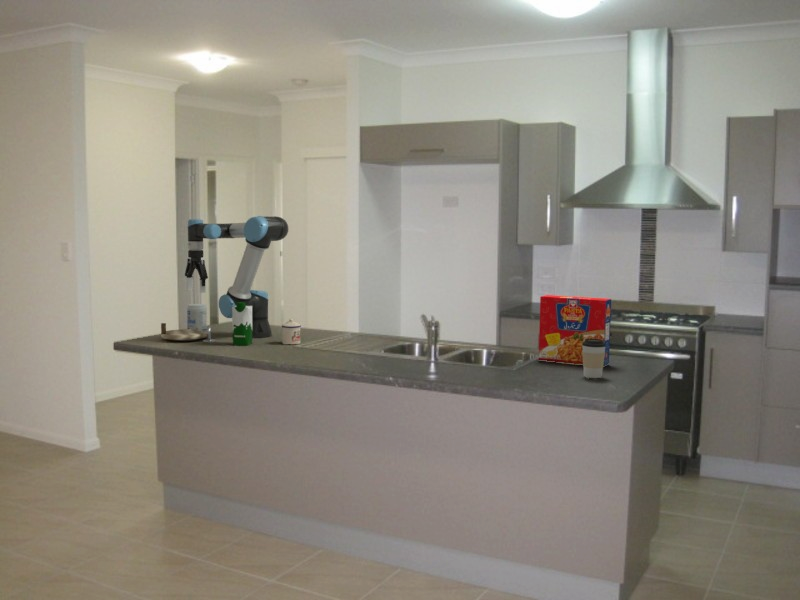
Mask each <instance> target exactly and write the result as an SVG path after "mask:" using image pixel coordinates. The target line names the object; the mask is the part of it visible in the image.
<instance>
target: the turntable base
mask: <svg viewBox="0 0 800 600" xmlns="http://www.w3.org/2000/svg"><path fill="white" fill-rule="evenodd" d="M199 340H200V339H189V340H172V339H169V341H170V342H179V343H182V342H183V343H184V342H187V343H188V342H195V341H196V342H197V341H199Z"/></svg>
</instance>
